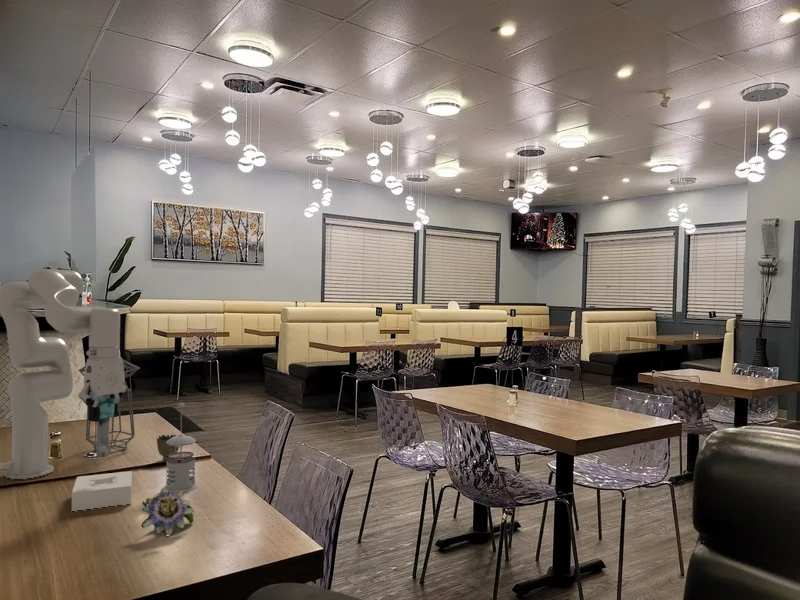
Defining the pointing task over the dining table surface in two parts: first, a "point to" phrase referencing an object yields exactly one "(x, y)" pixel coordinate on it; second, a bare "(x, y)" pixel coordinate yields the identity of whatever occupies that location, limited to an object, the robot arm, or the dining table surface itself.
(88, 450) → the dining table surface
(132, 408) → the geometric lantern
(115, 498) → the block
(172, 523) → the passion flower
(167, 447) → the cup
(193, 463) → the french press
